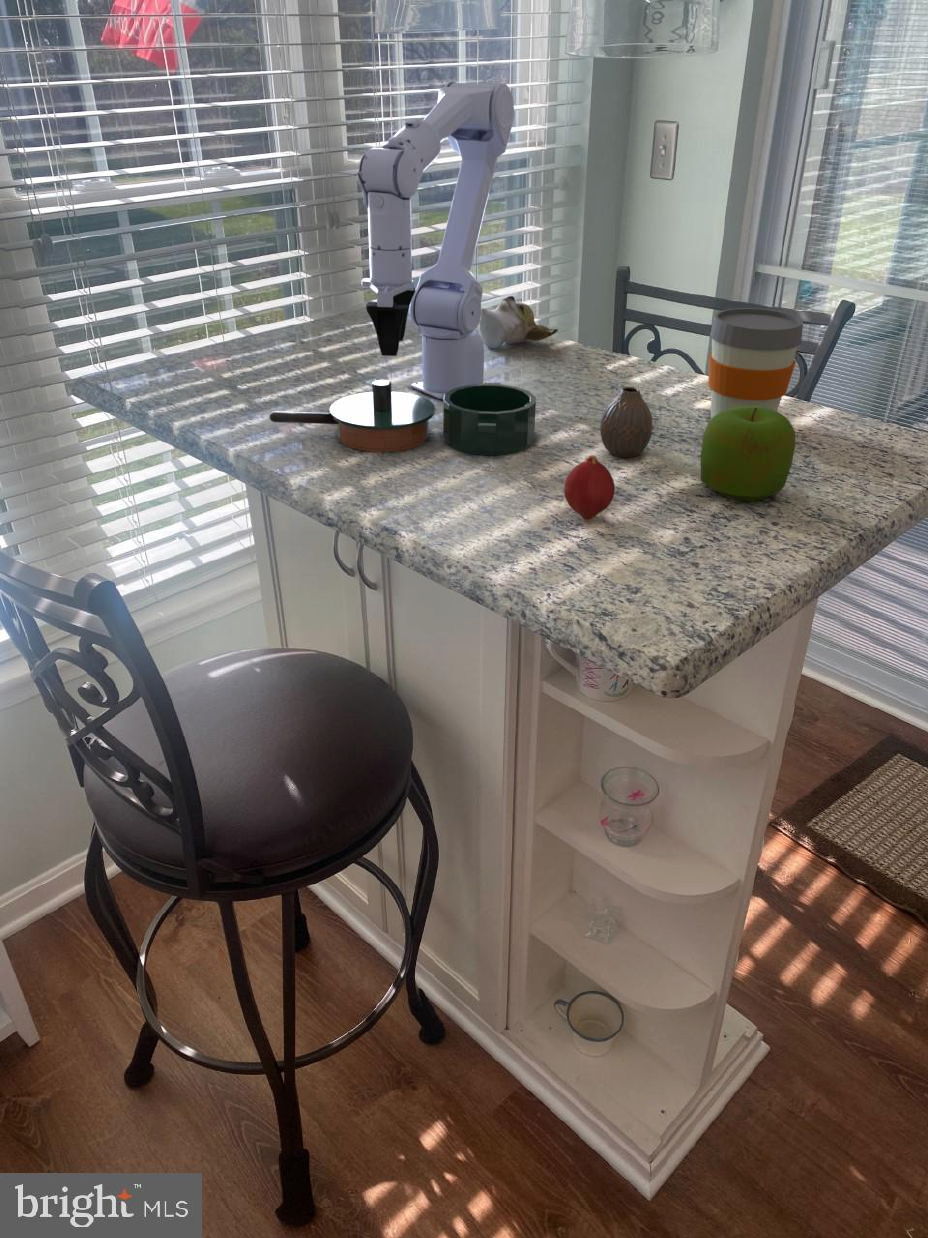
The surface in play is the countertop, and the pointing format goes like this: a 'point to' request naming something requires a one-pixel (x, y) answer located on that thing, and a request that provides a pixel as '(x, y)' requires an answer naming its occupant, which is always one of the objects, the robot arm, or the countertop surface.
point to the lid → (382, 409)
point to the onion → (589, 488)
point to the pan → (383, 437)
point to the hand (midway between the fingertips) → (392, 347)
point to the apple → (747, 452)
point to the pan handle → (302, 417)
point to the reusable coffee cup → (752, 357)
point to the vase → (626, 424)
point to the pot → (489, 419)
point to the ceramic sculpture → (510, 324)
